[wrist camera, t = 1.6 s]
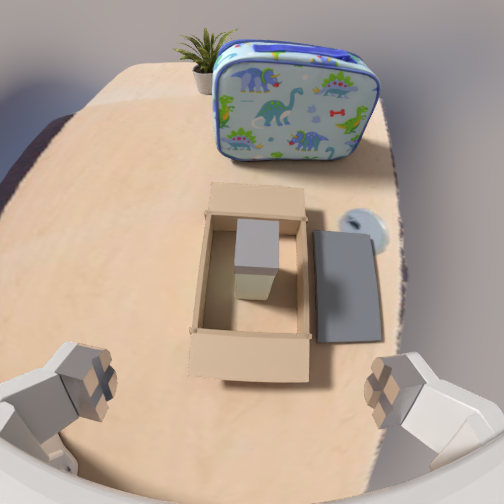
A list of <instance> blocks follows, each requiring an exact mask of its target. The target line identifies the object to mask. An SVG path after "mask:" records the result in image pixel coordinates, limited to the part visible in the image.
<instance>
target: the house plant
mask: <svg viewBox="0 0 504 504" xmlns="http://www.w3.org/2000/svg"><path fill="white" fill-rule="evenodd" d="M233 31H235V30H232V31H230V32H228V33H226V34H225V35H224V36H223V37H222V38H221V39H220V41H219V43H218V45H217V47H216V49H215V50H214V51H213V45H214V43H215V41H216V39H217V38H218V36H219V35H221V34H222V33H220V34H219V35H218V36H217V37H216V39H215V40H214V33H212V37H211V53H210V40H209V34H208V31H207V29H206V28H205V29H204V44H205V46H204V45H203V43H202V42H201V41H200V40H199V39H198V38H197V39H198V41H199V42H200V43H201V44H202V46H203V48H202V47H201V45H200V44H199V43H198V42H197V41H196V40H195V39H193V38H191V37H187V36H182V37H186V38H188V39H189V40H190V41H192V42H193V43H194V45H195V46H196V45H197V46H198V47H199V48H197V46H196V48H197V49H198V51H199V52H200V54H201V55H202V57H203V59H204V60H202V59H201V58H199V57H198V56H196V55H195V54H193V53H190V52H188V51H185V50H181V49H174V50H175V51H178V52H180V53H181V54H183V55H185V56H184V57H182V58H181V59H180V60H182V59H192V60H194V61H193V62H196V63H197V64H198V65H196V66H194V67H193V74H194V77H195V81H196V84H197V87H198V91H199V92H200V93H202V94H212V83H213V68H214V65H215V62H216V60H217V56H218V53H219V51H218V50H219V49H220V47H221V46H222V45H221V44H222V43H223V42H224V41H225V40H226V38H227V37H228V36H229V34H230V33H232V32H233ZM194 37H195V36H194ZM195 38H196V37H195ZM213 42H214V43H213ZM181 44H183V43H181ZM185 45H186V44H185ZM187 46H189V45H187ZM189 47H190V46H189ZM191 48H192V47H191ZM193 50H194V49H193ZM210 56H211V57H210Z"/></svg>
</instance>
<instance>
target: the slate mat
mask: <svg viewBox="0 0 504 504" xmlns="http://www.w3.org/2000/svg"><path fill="white" fill-rule="evenodd" d="M312 234H313V250H314V269H315V295H316V343H347V342H372V341H380V340H381V324H380V311H379V300H378V290H377V282H376V274H375V266H374V259H373V252H372V246H371V240H370V235H367V234H356V233H344V232H332V231H320V230H314V231H313V233H312Z"/></svg>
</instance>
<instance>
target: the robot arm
mask: <svg viewBox="0 0 504 504" xmlns="http://www.w3.org/2000/svg"><path fill="white" fill-rule="evenodd" d="M111 361H112V358H111V355H110V352H109V351H108V350H107V349H103V348H99V347H94V346H90V345H85V344H79V343H76V342H72V341H66V342H64V343H63V345H62V346H61V347H60V348H59V349H58V350H57V352H56V353H55V354H54V355H53V356H52V358H51V359H50V360H49V361H48V362H47V364H46V365H45V366H44V367H43V369H41V368H37V369H35V370H32V371H30V372H27V373H25V374H22V375H20V376H18V377H15V378H13V379H10V380H8V381H5V382H3V383H0V504H183V503H176V502H170V501H164V500H159V499H154V498H149V497H144V496H140V495H136V494H132V493H128V492H124V491H120V490H117V489H113V488H110V487H107V486H104V485H101V484H98V483H95V482H92V481H89V480H86V479H84V478H81V477H78V476H77V473H78V462H77V460H76V459H75V457H74V456H73V455H72V454H71V453H70V452H69V451H68V449H67V448H66V447H65V446H64V444H63V443H62V441H61V439H60V437H59V435H58V432H60V431H61V430H62V429H64V428H65V427H67V426H68V425H69V424H71V423H72V422H74V421H75V420H76V419H78V418H79V417H83V418H87V419H90V420H94V421H98V422H102V421H103V419H104V417H105V414H106V412H107V410H108V408H109V407H108V404H107V401H109V400H111V399H112V398H113V397H114V395H115V393H116V389H117V376H116V372H115V370H114V369H113V368H112V367H111V366H110V365H109V364H110V362H111ZM371 369H372V371H373V373H372V374H371V375H370V376H369V377H368V378H367V379H366V382H365V385H364V396H365V400H366V402H367V405H368V406H370V407H372V408H373V409H374V411H373V413H372V416H373V418H374V420H375V422H376V424H377V427H378V429H383V428H388V427H393V426H397V425H401V426H402V427H403V428H405V429H406V430H407V431H409V432H410V433H411V434H413V435H414V436H415V437H416V438H418V439H419V440H421V441H422V442H423V443H424V444H426V445H427V446H428V447H430V448H431V449H433V450H434V451H435V452H437V453H438V454H439V455H438V456H437V457H436V458H435V459H434V460H433V461H432V463H431V464H430V466H429V467H430V469H431V472H429V473H426V474H424V475H421V476H419V477H416V478H413V479H411V480H408V481H405V482H402V483H399V484H396V485H393V486H390V487H387V488H384V489H380V490H377V491H373V492H369V493H365V494H361V495H357V496H352V497H348V498H343V499H338V500H332V501H326V502H320V503H313V504H504V414H503V413H502V411H501V410H500V409H499V408H498V406H497V405H496V404H495V403H493V402H491V401H489V400H487V399H484V398H482V397H480V396H478V395H476V394H473V393H471V392H469V391H467V390H465V389H463V388H460V387H458V386H456V385H454V384H452V383H449V382H447V381H445V380H439V378H438V377H437V376H436V375H435V373H434V372H433V371H432V370H431V368H430V367H429V366H428V365H427V363H426V362H425V361H424V360H423V359H422V357H421V356H420V355H419V354H418V353H416V352H411V353H405V354H402V355H394V356H386V357H378V358H376V359H375V360H374V361H373V363H372V366H371ZM68 467H69V468H70V470H69V468H68Z"/></svg>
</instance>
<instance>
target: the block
mask: <svg viewBox="0 0 504 504" xmlns="http://www.w3.org/2000/svg"><path fill="white" fill-rule="evenodd" d="M278 269H279V221H269V220H253V219H238V223H237V235H236V247H235V259H234V274H235V277H236V299H249V300H267V299H268V296H269V293H270V290H271V287H272V284H273V281H274V278H275V276H276V275H277V272H278Z"/></svg>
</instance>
